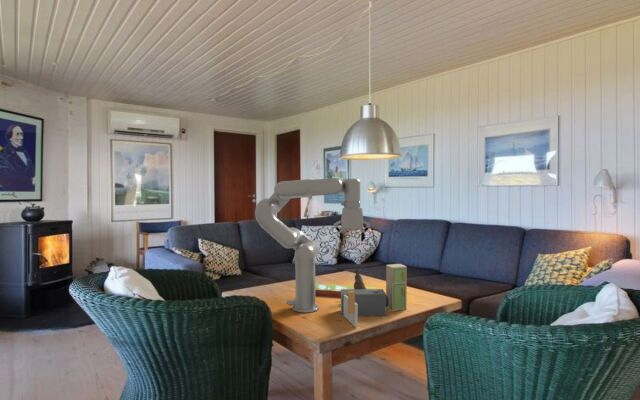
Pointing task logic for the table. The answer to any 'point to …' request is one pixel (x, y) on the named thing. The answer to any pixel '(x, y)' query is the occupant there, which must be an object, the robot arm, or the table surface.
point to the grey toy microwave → (368, 301)
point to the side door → (351, 308)
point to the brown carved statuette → (358, 281)
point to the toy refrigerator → (396, 286)
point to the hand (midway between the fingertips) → (352, 241)
